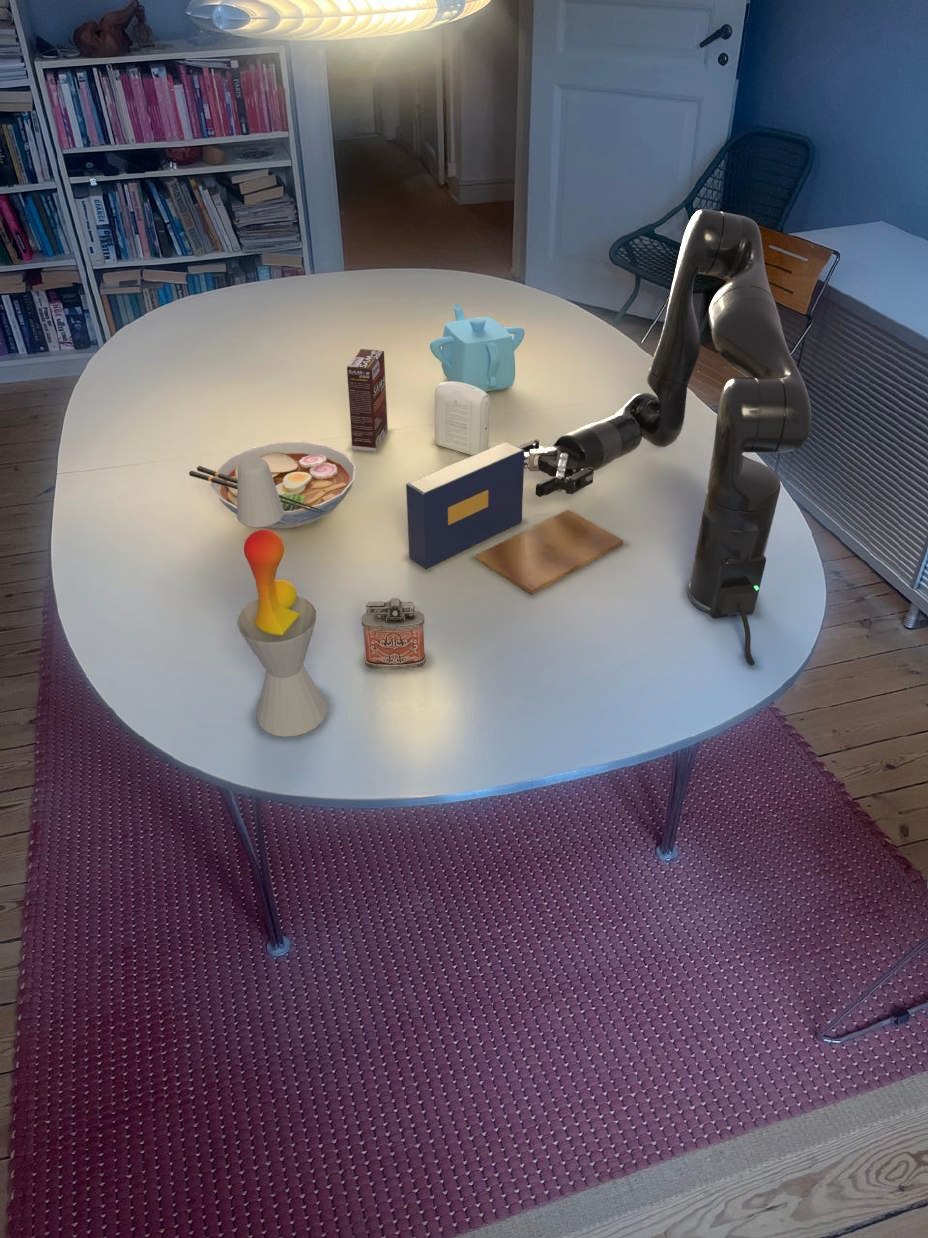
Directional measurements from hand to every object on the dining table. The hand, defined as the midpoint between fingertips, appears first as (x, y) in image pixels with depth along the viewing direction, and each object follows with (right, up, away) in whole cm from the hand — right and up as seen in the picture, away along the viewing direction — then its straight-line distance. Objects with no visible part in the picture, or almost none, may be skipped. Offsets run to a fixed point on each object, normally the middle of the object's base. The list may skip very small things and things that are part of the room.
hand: (518, 480), depth 151 cm
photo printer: (-9, +9, +22) cm, 26 cm away
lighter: (-18, -28, -25) cm, 41 cm away
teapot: (-6, +27, +45) cm, 53 cm away
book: (-8, -10, -2) cm, 13 cm away
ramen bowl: (-37, -5, +5) cm, 38 cm away
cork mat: (+5, -12, -4) cm, 13 cm away
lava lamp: (-30, -34, -32) cm, 55 cm away
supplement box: (-26, +11, +25) cm, 37 cm away
